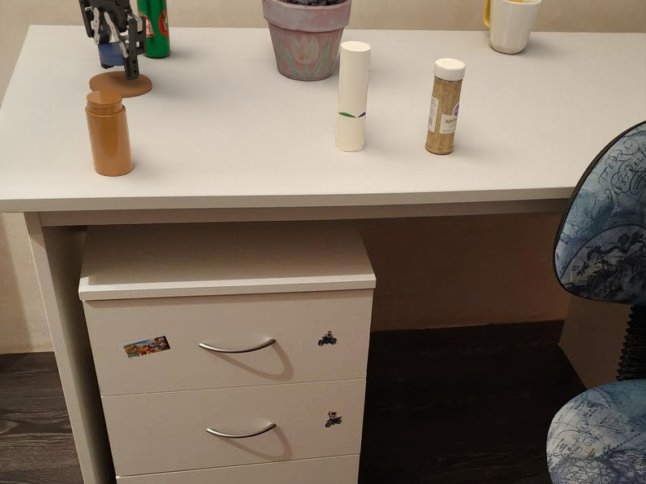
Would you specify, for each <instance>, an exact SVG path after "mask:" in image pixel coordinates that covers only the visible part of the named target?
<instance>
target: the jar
mask: <svg viewBox="0 0 646 484" xmlns="http://www.w3.org/2000/svg"><path fill="white" fill-rule="evenodd" d="M85 98H86V106H85V107H84V113H85V119H86V125H87V130H88V131H87V132H88V137H89V143H90V149H91V156H92V162H93V163H92V164H93V169H94V171H95V172H96V173H97V174H99V175H101V176H102V175H103V176H106V177H119V176H124V175H128V174H129V173H131V172H132V171H133V169H134V161H133V154H132V145H131V139H130V130H129V123H128V114H127V107H126V106H125V105H124V104H123V97H122V96H121V95H120V94H119V93H117V92H114V91H109V90H99V91H91V92H88V94H86V96H85Z"/></svg>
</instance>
